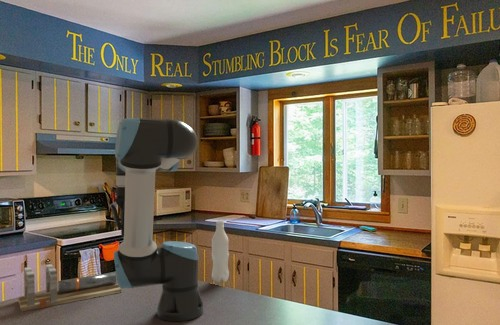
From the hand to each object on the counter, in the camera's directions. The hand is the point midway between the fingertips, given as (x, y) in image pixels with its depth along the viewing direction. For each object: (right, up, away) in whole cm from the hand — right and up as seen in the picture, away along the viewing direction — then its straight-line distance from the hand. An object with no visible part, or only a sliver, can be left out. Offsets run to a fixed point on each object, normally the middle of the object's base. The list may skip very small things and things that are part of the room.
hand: (126, 244), depth 161 cm
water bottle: (+37, -17, +6) cm, 41 cm away
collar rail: (-17, -17, -12) cm, 27 cm away
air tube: (-12, -16, -9) cm, 22 cm away
